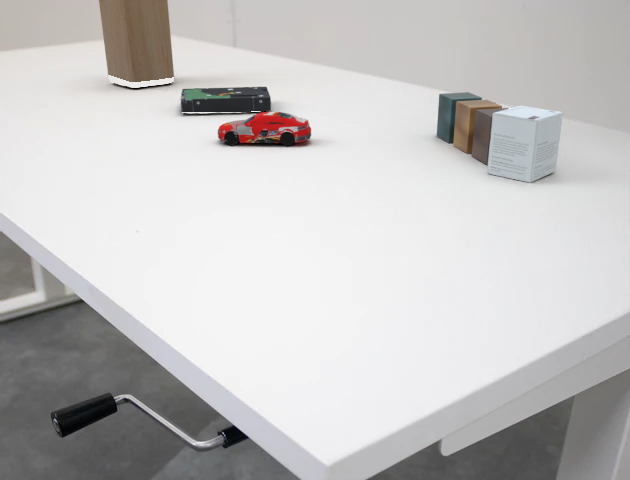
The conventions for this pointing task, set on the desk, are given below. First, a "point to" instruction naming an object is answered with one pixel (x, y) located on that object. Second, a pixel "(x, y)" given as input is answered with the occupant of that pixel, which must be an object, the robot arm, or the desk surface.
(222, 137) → the race car
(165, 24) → the block
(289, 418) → the desk surface
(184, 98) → the disk drive
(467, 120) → the block row
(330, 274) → the desk surface
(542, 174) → the white cardboard box
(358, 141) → the desk surface
